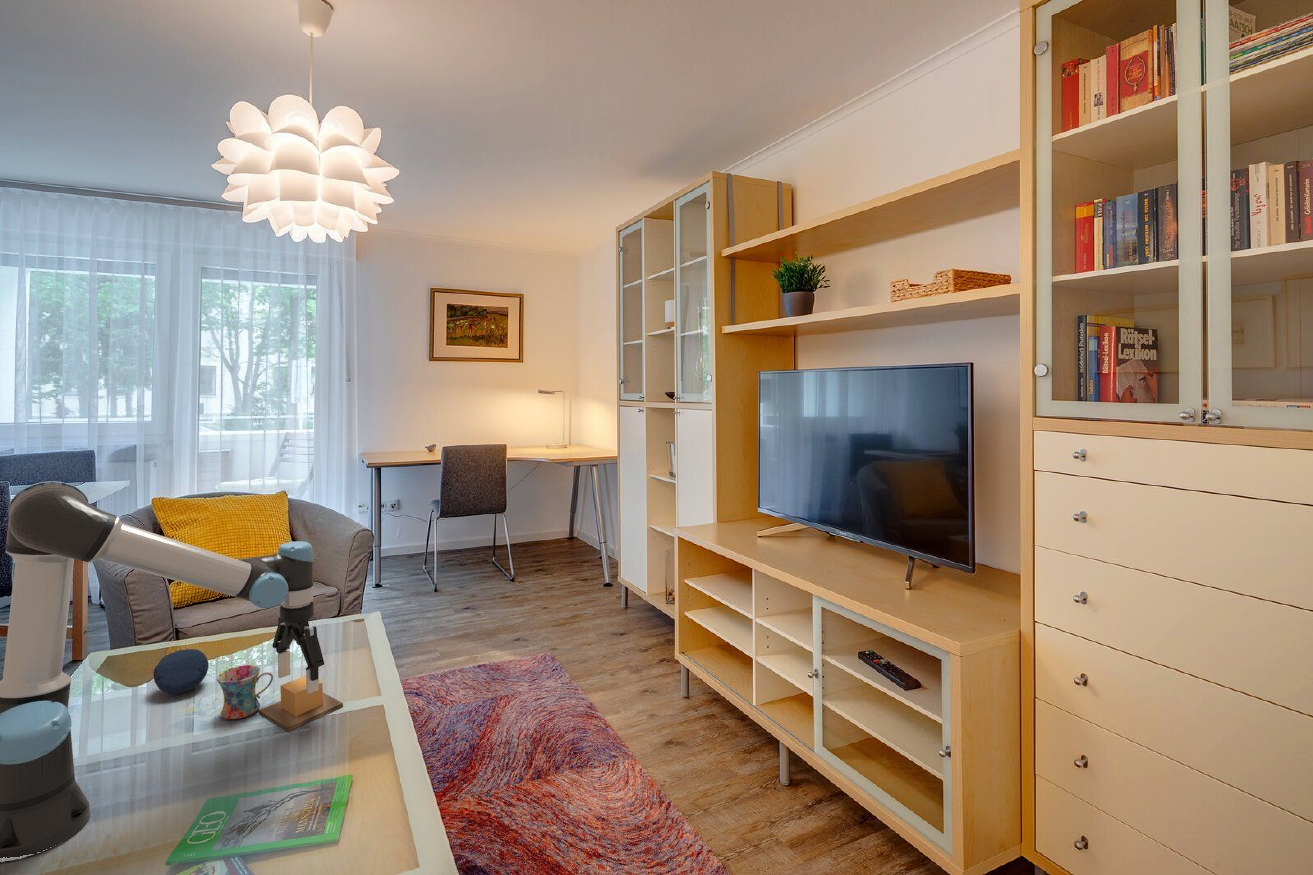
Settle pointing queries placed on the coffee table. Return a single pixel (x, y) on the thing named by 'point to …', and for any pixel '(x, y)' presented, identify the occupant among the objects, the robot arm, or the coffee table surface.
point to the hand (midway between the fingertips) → (298, 683)
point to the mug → (240, 691)
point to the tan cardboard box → (300, 697)
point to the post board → (292, 722)
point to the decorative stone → (181, 671)
